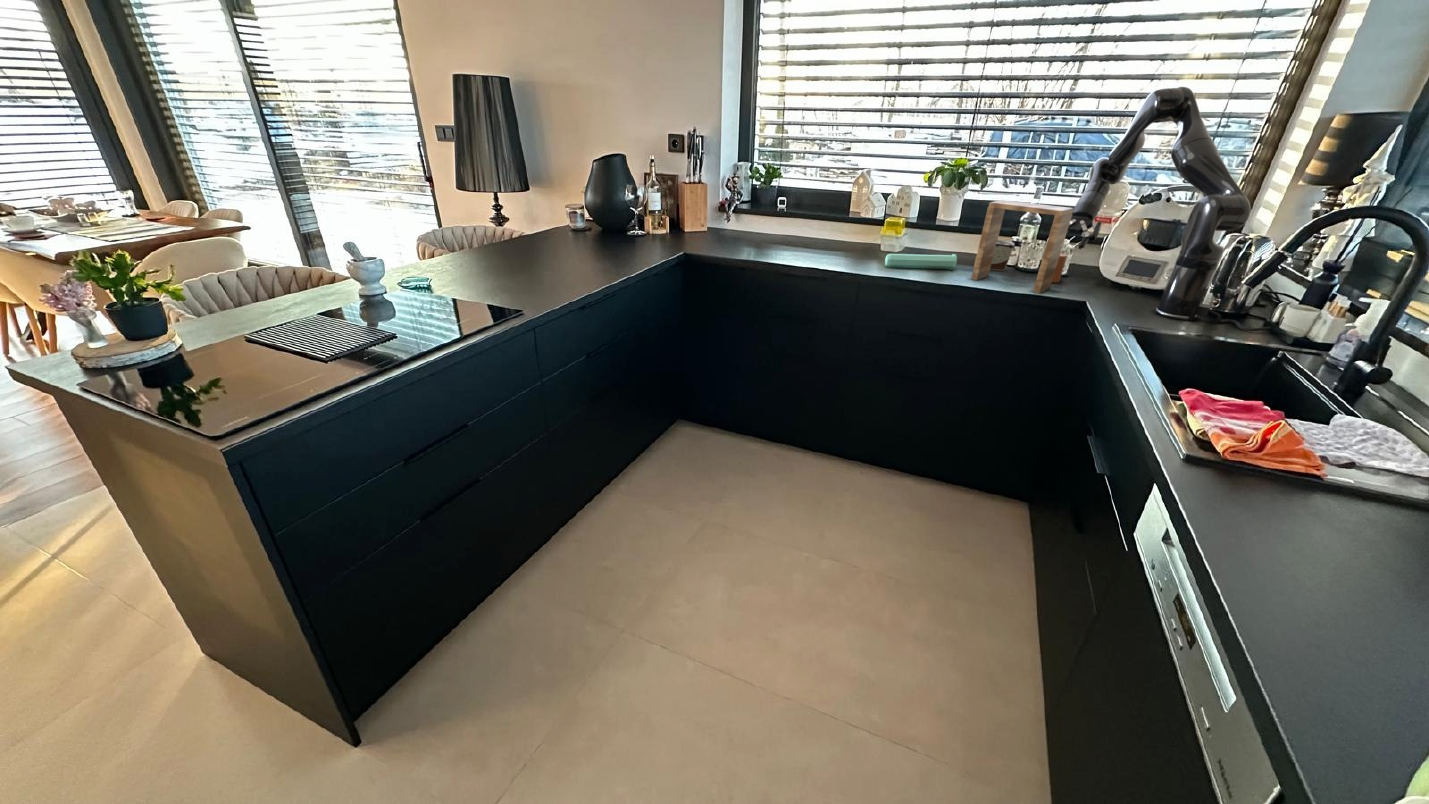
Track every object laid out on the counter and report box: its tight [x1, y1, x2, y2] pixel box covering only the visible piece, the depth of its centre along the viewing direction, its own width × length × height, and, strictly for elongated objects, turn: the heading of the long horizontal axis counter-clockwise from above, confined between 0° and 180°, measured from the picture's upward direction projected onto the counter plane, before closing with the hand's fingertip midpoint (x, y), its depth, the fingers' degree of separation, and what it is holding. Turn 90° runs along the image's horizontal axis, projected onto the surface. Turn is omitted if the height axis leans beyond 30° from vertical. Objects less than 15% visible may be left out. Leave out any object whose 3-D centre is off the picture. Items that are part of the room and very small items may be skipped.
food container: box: [990, 239, 1016, 272], centre depth 207 cm, size 12×6×10 cm, turn 84°
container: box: [884, 253, 958, 271], centre depth 205 cm, size 6×6×25 cm
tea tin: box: [1051, 253, 1068, 284], centre depth 192 cm, size 5×5×9 cm
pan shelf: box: [970, 199, 1074, 294], centre depth 184 cm, size 22×10×26 cm, turn 44°
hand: (1066, 245), depth 193 cm, fingers open, 8 cm apart
